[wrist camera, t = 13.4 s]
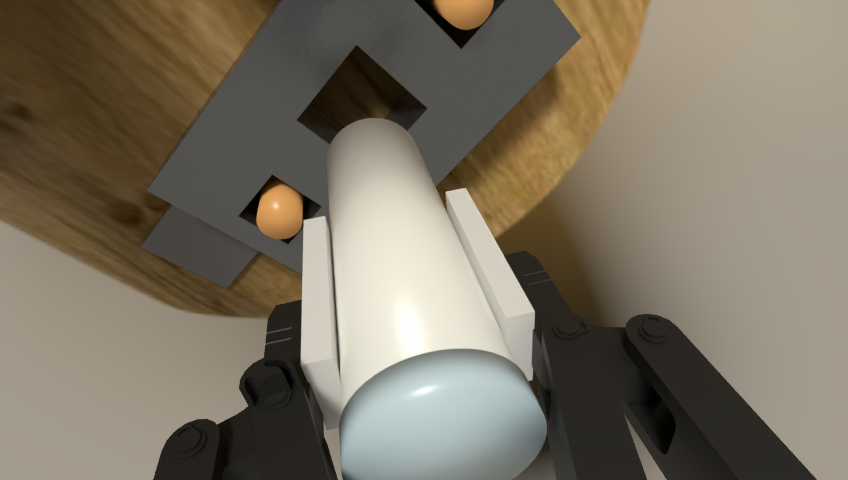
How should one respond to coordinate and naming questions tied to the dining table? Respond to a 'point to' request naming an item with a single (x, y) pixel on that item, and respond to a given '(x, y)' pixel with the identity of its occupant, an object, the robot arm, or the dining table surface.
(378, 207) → the cartridge
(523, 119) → the dining table surface
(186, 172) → the housing
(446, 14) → the orange egg shape
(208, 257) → the mat
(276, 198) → the plunger far
